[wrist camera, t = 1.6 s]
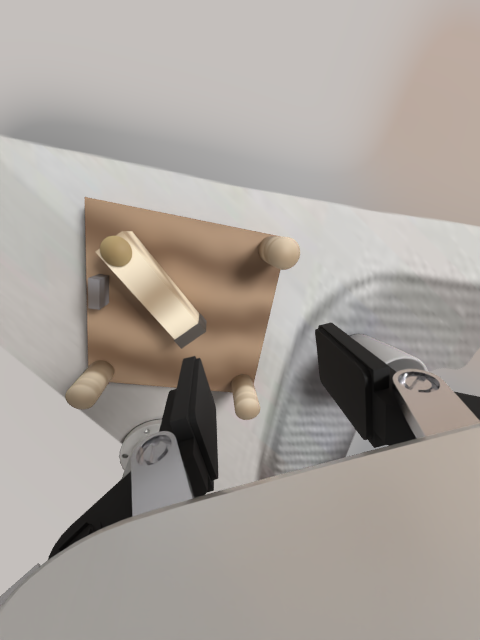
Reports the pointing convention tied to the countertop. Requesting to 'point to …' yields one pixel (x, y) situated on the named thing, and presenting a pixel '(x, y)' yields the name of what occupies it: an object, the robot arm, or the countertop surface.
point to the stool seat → (197, 286)
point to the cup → (389, 354)
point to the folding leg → (152, 286)
